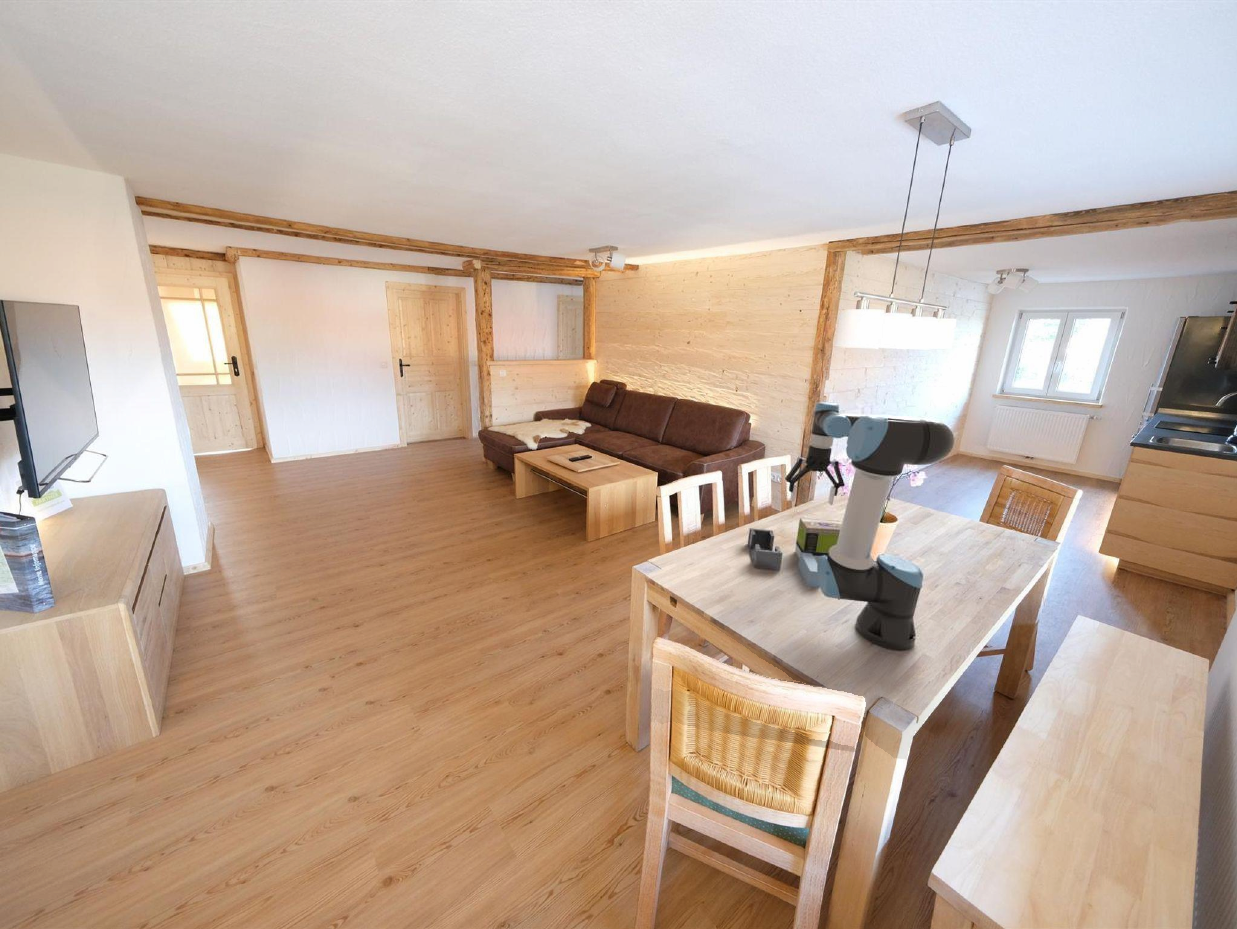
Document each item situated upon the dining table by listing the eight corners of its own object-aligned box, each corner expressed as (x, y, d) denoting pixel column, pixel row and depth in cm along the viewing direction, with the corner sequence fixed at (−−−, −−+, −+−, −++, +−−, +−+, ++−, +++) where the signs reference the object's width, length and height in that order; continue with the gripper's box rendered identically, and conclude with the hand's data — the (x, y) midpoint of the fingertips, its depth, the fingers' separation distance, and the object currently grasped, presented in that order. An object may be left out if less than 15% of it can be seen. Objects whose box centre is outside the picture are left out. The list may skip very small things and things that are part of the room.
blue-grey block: (819, 587, 160) (822, 572, 158) (807, 586, 160) (810, 571, 158) (809, 568, 173) (811, 553, 171) (797, 566, 173) (800, 552, 172)
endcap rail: (779, 570, 170) (782, 553, 168) (754, 568, 171) (756, 550, 169) (770, 546, 189) (772, 530, 187) (747, 544, 190) (749, 528, 188)
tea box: (833, 554, 184) (839, 519, 180) (842, 567, 175) (849, 530, 170) (793, 551, 185) (799, 516, 181) (800, 563, 176) (807, 527, 172)
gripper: (853, 446, 168) (843, 501, 174) (782, 441, 171) (774, 495, 177) (861, 451, 161) (849, 508, 167) (786, 445, 164) (778, 502, 170)
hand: (811, 502), depth 172 cm, fingers open, 13 cm apart
